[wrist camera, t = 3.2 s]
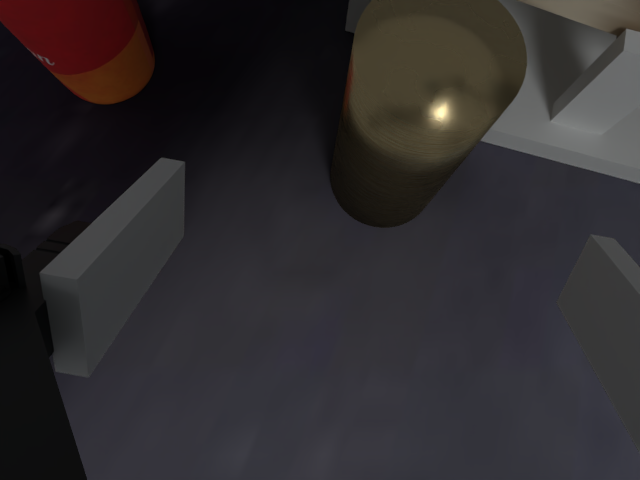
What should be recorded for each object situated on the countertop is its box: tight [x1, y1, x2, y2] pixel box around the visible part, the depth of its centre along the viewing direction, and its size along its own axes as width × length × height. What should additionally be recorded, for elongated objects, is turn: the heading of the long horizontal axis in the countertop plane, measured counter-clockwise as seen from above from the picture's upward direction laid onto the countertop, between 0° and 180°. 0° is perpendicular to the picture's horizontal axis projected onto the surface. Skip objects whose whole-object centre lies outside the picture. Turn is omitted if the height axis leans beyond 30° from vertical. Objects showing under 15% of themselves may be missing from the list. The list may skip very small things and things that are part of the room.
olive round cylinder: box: [330, 0, 527, 228], centre depth 22 cm, size 6×6×12 cm
